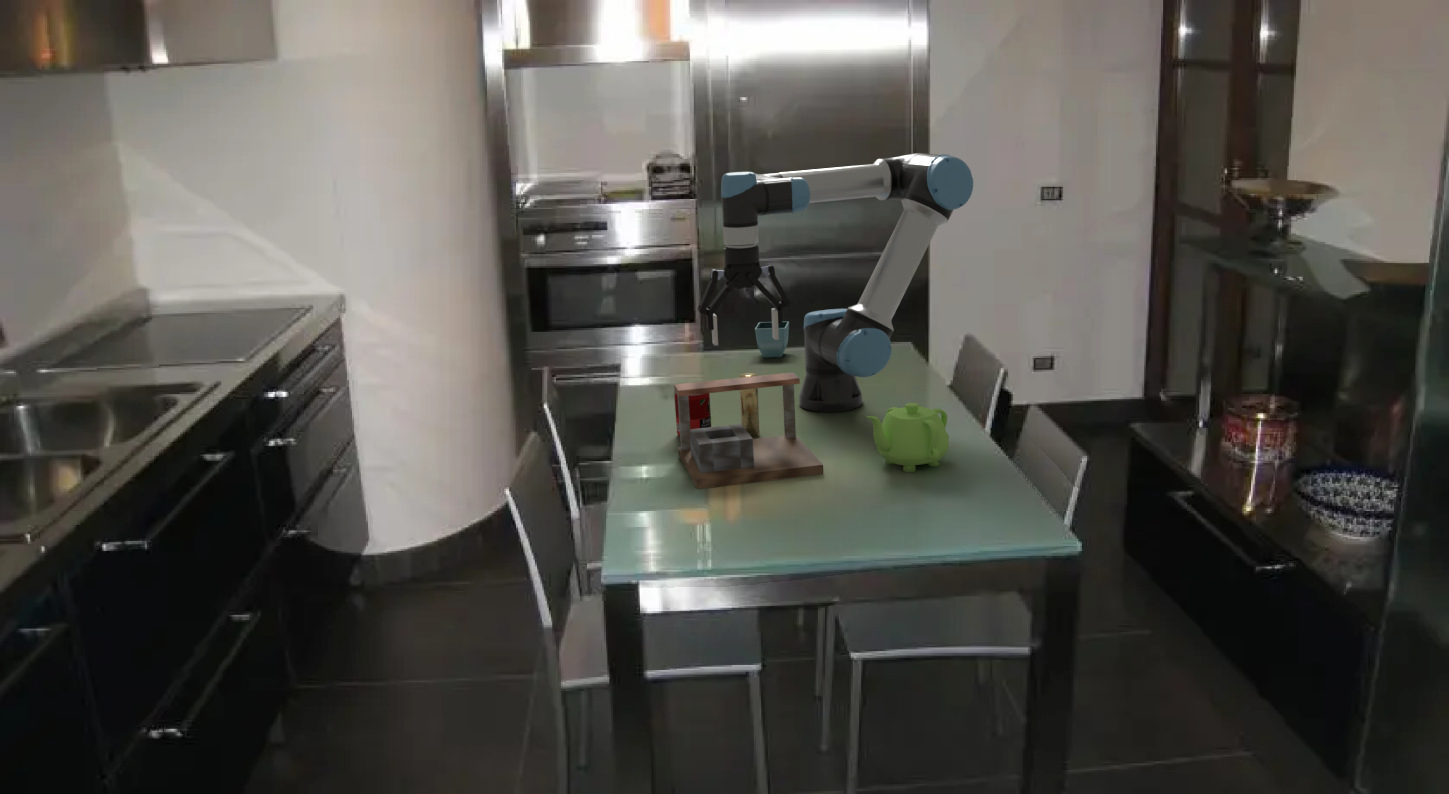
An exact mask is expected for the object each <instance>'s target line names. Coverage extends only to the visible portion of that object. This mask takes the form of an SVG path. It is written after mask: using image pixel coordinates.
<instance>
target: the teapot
mask: <svg viewBox="0 0 1449 794" xmlns="http://www.w3.org/2000/svg"><path fill="white" fill-rule="evenodd" d="M939 414H940V415H939ZM866 418H868V419H869V420H870V421H871V423H872V425H873V433H872V434H873V441H874V443H875V445H876V450H877V452H878V454H880V456H881V457H882V458H883V459H884V460H885V462H884V463H885V464H888V465H895V464H896V465H898V466H903V467H902V468H903V469H902V471H903V472H906V473H913V472H915V471H916V466H920V465H926V464H927V465H928V466H930V467H938V466H941V463H940V462H939V460H942V459H943V458H944V457H945V455H946V454H947V453H948V450H949V448H950V447H949V443H950V442H949V439H950V438H949V434H948V432H947V430H946V426H947V423H948V415H947V413H946V411H945V410H943V409H941V408H938V407H937V408H933V409H931V408H928V407H925V406H920V404H919V403H916V402H907V403H905V404H904V407H896V406H893V407H890V408H888V409H887V410H886V413H885V416H884V418H883V420H882V422H881V419H879V417H877V416H875V415H874V416H872V415H866Z"/></svg>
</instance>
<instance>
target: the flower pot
mask: <svg viewBox="0 0 1449 794" xmlns="http://www.w3.org/2000/svg"><path fill="white" fill-rule="evenodd" d="M789 329H790V322H789V321H783V320H782V324H778V333H779V340H775V339H774V338H773V337H772V321H761V322H758V323H757V325H756V326H755V328H754V332H755V338H756V343H757V348H758V350H759V351H760V354H761V355H762V356H763V358H766V359H767V358H782V357H783V355H784V352H785V351H786V349H787V346H788V341H789V332H790V331H789Z"/></svg>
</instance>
